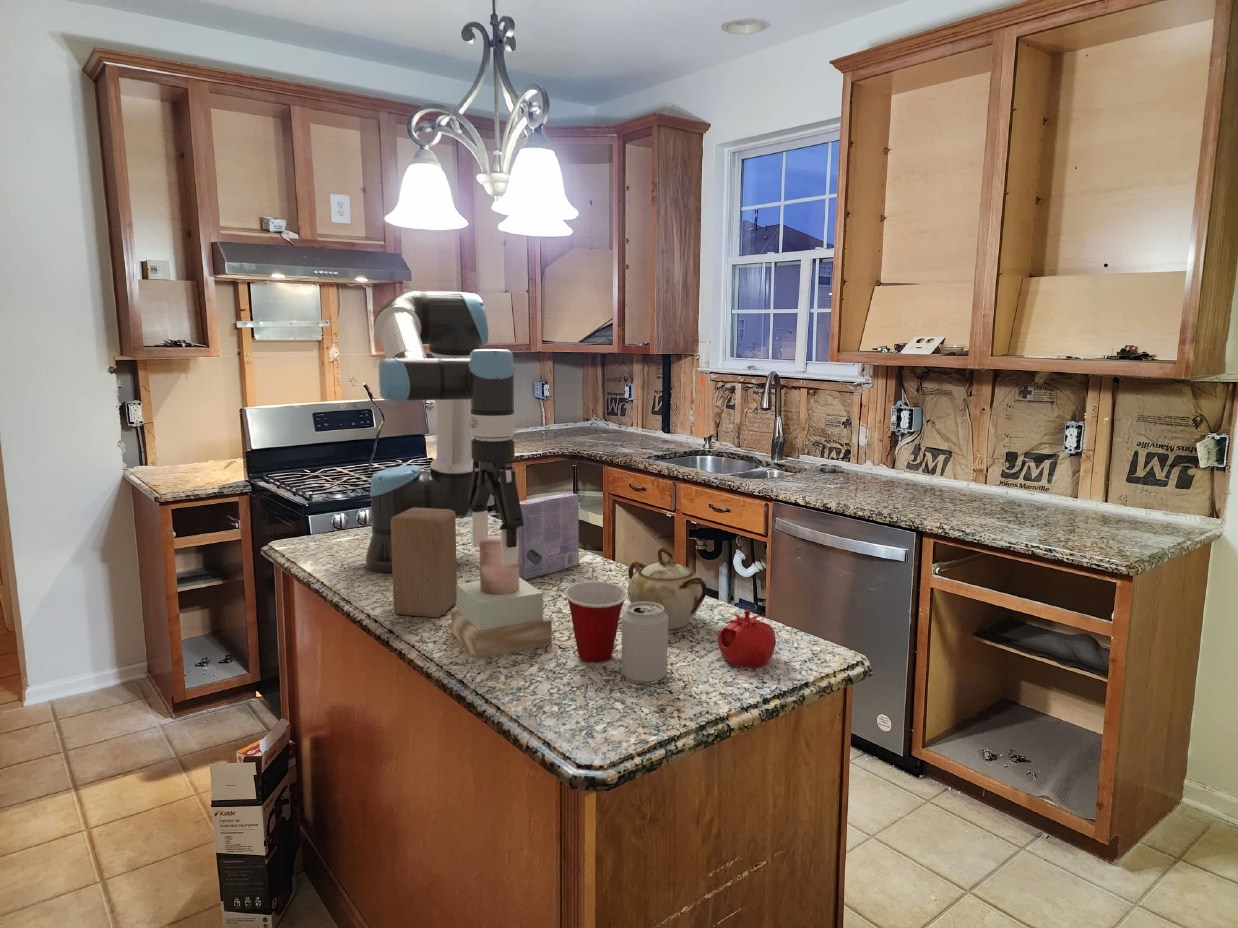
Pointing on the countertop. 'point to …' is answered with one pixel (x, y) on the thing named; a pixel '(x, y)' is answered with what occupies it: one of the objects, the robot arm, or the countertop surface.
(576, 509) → the cake pan box
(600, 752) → the countertop surface
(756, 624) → the pomegranate
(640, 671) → the can
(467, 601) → the tower top
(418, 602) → the block
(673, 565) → the sugar bowl
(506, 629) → the tower base
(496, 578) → the pink rounded cylinder
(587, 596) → the plastic cup
